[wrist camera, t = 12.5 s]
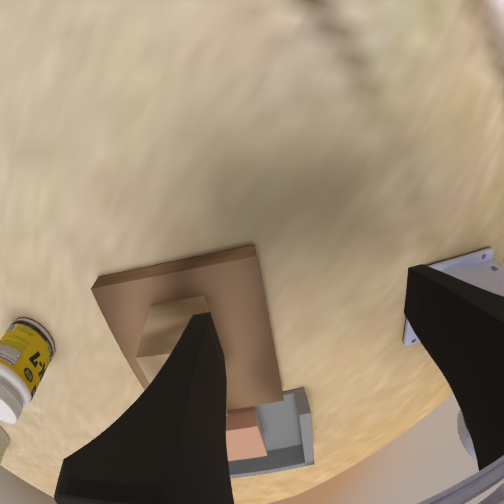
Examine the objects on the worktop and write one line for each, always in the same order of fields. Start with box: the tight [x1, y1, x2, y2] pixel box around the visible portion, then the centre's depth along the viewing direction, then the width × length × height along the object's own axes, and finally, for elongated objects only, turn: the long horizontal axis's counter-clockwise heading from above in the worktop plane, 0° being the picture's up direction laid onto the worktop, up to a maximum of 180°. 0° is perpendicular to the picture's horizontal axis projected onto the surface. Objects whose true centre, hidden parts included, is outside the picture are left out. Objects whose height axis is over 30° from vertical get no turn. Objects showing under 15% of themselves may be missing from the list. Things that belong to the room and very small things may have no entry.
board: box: [91, 245, 284, 410], centre depth 22 cm, size 11×14×2 cm
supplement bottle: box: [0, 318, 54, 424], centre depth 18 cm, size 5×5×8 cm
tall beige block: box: [136, 295, 227, 416], centre depth 19 cm, size 4×6×5 cm, turn 9°
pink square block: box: [226, 406, 267, 461], centre depth 26 cm, size 6×6×3 cm
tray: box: [228, 388, 314, 478], centre depth 28 cm, size 15×11×3 cm
